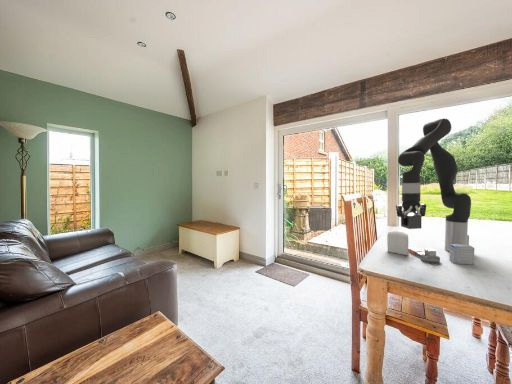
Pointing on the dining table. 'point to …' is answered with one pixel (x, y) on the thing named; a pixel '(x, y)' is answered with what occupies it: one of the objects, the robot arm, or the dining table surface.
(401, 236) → the photo printer
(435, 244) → the dining table surface
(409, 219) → the dark grey metal cube
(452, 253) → the medicine box
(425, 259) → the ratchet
